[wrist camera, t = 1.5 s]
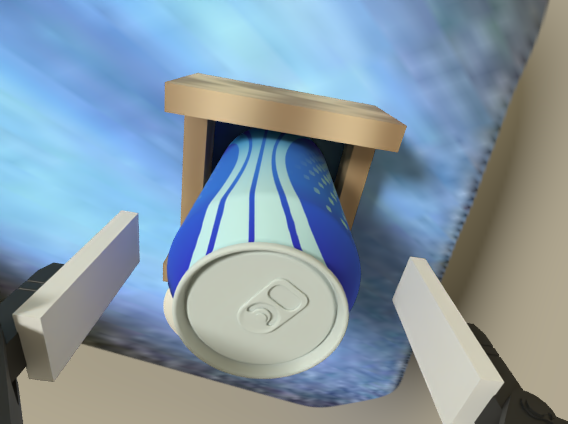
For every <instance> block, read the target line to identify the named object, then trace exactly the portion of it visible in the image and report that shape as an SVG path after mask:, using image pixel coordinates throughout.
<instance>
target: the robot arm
mask: <svg viewBox="0 0 568 424" xmlns="http://www.w3.org/2000/svg"><path fill="white" fill-rule="evenodd" d="M139 262H140V259H139V224H138V213H134V212H128V211H120V212H119V213H118V214H117V215H116V216H115V217H114V218H113V219H112V220H111V221H110V222H109V223H108V224H107V225H106V226H105V227H104V228H103V229H101V230H100V231H99V232H98V233H97V234H96V235H95V236H94V237H93V238H92V239H91V240H90V241H89V242H88V243H87V244H86V245H85V246H84V247H83V248H81V249H80V250H79V251H78V252H77V253H76V254H75V255H74V256H73V257H72V258H71V259H70V260H69V261H68V262H67V263H66V264H59V263H52V264H50V265H48V266H46V267H44V268H42V269H40V270H38V271H37V272H36V273H35V274H34V275H32V276H31V277H30V278H29V279H28V281H27V282H26V281H25V282H24V283H23V284H22V285H21V286H20V287H19V289H16V290H15V291H14V292H13V293H12V294H11V295H9V296H8V297H7V298H6V299H5V300H4V301H3V302H1V303H0V424H23V420H22V411H21V404H20V395H19V388H18V382H17V376H18V375H19V374H20V373H21V372H22V371H23V369H24V368H25V367H26V369H27V373H28V377H29V379H35V380H43V381H51V382H54V381H55V379H56V378H57V377H58V375H59V373H60V372H61V371H62V370H63V368H64V367H65V365H66V364H67V363H68V361H69V360H70V358H71V357H72V356H73V354H74V353H75V351H76V350H77V349H78V347H79V346H80V344H81V343H82V342H83V340H84V339H85V337H86V336H87V335H88V333H89V332H90V330H91V329H92V328H93V326H94V325H95V323H96V322H97V321H98V319H99V318H100V316H101V315H102V314H103V312H104V311H105V309H106V308H107V307H108V305H109V304H110V302H111V301H112V299H113V298H114V297H115V295H116V294H117V292H118V291H119V290H120V288H121V287H122V285H123V284H124V283H125V281H126V280H127V278H128V277H129V276H130V274H131V273H132V271H133V270H134V269H135V267H136V266H137V264H138V263H139ZM392 300H393V303H394V305H395V308H396V310H397V313H398V315H399V318H400V320H401V322H402V325H403V327H404V330H405V332H406V335H407V337H408V340H409V342H410V345H411V347H412V350H413V352H414V354H415V357H416V359H417V362H418V364H419V367H420V369H421V372H422V374H423V377H424V379H425V381H426V384H427V387H428V389H429V391H430V394H431V396H432V399H433V401H434V404H435V406H436V408H437V411H438V414H439V416H440V419H441V421H442V423H443V424H568V421H566V420H563V419H560V418H558V417H556V416H555V414H554V412H553V411H552V409H551V408H549V406H548V405H547V404H546V403H545V402H543V401H542V400H541V399H539V398H538V397H537V396H535V395H533V394H531V393H529V392H527V391H523V389H522V388H521V387H520V385H519V383H518V382H517V381H516V379H515V378H514V376H513V375H512V373H511V372H510V371H509V369H508V367H507V366H506V364H505V363H504V361H503V360H502V359H501V357H499V354H498V353H497V351H496V350H495V348H493V345H492V344H491V342H490V341H489V340H488V338H487V337H486V335H485V334H484V333H483V332H482V331H480V329H478V328H477V327H476V326H475V325H474V324H469V323H466V322H465V320H464V319H463V317H462V316H461V314H460V312H459V311H458V309H457V308H456V306H455V305H454V303H453V302H452V300H451V298H450V297H449V295H448V294H447V293H446V291H445V289H444V287H443V286H442V284H441V283H440V281H439V280H438V278H437V277H436V275H435V273H434V272H433V270H432V269H431V267H430V266H429V264H428V263H427V261H426V259H423V258H416V257H410V258H409V260H408V263H407V265H406V268H405V270H404V272H403V275H402V277H401V280H400V282H399V284H398V287H397V289H396V292H395V294H394V296H393V299H392Z"/></svg>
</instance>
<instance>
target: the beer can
mask: <svg viewBox="0 0 568 424" xmlns="http://www.w3.org/2000/svg"><path fill="white" fill-rule="evenodd" d="M167 279H168V285H169V289H170V293H171V295H172V298H173V303H172V315H173V321H174V325H175V328H176V331H177V333H178V335H179V337H180V338H181V340H182V341H183V343H184V344H185V345H186V347H187V348H188V349H189V350H190V351H191V352H192V353H193V354H194V355H195V356H197V357H198V358H199V359H201V360H202V361H204V362H205V363H207V364H208V365H210V366H212V367H214V368H216V369H218V370H221V371H223V372H226V373H229V374H232V375H236V376H241V377H247V378H255V379H271V378H280V377H286V376H290V375H294V374H297V373H301V372H303V371H306V370H308V369H310V368H312V367H314V366H316V365H317V364H319V363H320V362H322V361H323V360H325V359H326V358H327V357H328V356H329V355H330V354H331V353H332V352H333V351H334V350H335V349H336V348H337V346H338V345H339V344H340V342H341V340H342V339H343V337H344V334H345V332H346V329H347V325H348V320H349V312H350V310H351V309H352V307H353V305H354V303H355V300H356V298H357V295H358V291H359V287H360V280H361V267H360V260H359V255H358V252H357V249H356V246H355V243H354V240H353V237H352V234H351V232H350V229H349V226H348V223H347V220H346V218H345V215H344V212H343V209H342V206H341V203H340V201H339V198H338V195H337V192H336V189H335V187H334V184H333V181H332V178H331V175H330V173H329V170H328V167H327V164H326V161H325V159H324V156H323V154H322V153H321V151H320V149H319V148H318V146H317V145H316V144H315V143H314V142H313V141H312V140H311V139H310V138H309V137H306V136H301V135H295V134H289V133H283V132H278V131H272V130H266V129H261V128H252V129H250V130H247V131H245V132H244V133H242V134H241V135H239V136H238V137H237V138H236V139H234V140H233V141H232V143H231V144H230V145H229V146H228V148H227V149H226V151H225V152H224V154H223V156H222V157H221V159H220V161H219V163H218V164H217V166H216V168H215V169H214V171H213V173H212V174H211V176H210V178H209V180H208V181H207V183H206V185H205V186H204V188H203V190H202V191H201V193H200V195H199V197H198V198H197V200H196V202H195V203H194V205H193V207H192V208H191V210H190V212H189V214H188V215H187V217H186V219H185V220H184V222H183V224H182V225H181V227H180V229H179V231H178V232H177V234H176V236H175V238H174V240H173V243H172V245H171V248H170V251H169V255H168V261H167Z"/></svg>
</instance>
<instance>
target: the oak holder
mask: <svg viewBox="0 0 568 424" xmlns="http://www.w3.org/2000/svg"><path fill="white" fill-rule="evenodd" d="M165 112H169V113H175V114H181V115H185V119H184V146H183V173H182V201H181V225H182V224H183V222H184V220H185V219H186V217H187V215H188V214H189V212H190V210H191V208H192V207H193V205H194V203H195V202H196V200H197V198H198V197H199V195H200V193H201V191H202V190H203V188H204V186H205V185H206V183H207V181H208V180H209V178H210V176H211V171H212V158H213V145H214V132H215V121H221V122H226V123H232V124H238V125H243V126H249V127H255V128H261V129H266V130H272V131H278V132H283V133H289V134H295V135H301V136H306V137H312V138H318V139H323V140H329V141H335V142H341V143H345V144H344V148H343V152H342V156H341V160H340V164H339V167H338V171H337V175H336V179H335V183H334V187H335V189H336V192H337V195H338V198H339V201H340V203H341V206H342V209H343V212H344V215H345V218H346V220H347V223H348V226H349V229H350V231H351V228H352V225H353V221H354V218H355V215H356V211H357V208H358V205H359V202H360V198H361V195H362V192H363V188H364V185H365V182H366V179H367V175H368V172H369V169H370V165H371V162H372V159H373V156H374V152H375V149H381V150H386V151H392V152H398V151H399V148H400V145H401V142H402V139H403V136H404V133H405V130H406V127H407V126H406V125H404V124H403V123H401V122H400V121H398V120H397V119H395V118H393V117H392V116H390V115H389V114H387V113H386V112H384V111H383V110H381V109H379V108H378V107H376V106H373V105H368V104H363V103H357V102H352V101H346V100H341V99H336V98H330V97H325V96H319V95H314V94H308V93H303V92H298V91H292V90H287V89H281V88H276V87H271V86H265V85H260V84H254V83H249V82H244V81H238V80H233V79H227V78H222V77H217V76H211V75H206V74H200V73H196V74H192V75H189V76H185V77H181V78H178V79H174V80H171V81H167V82H165ZM168 255H169V254H168ZM167 261H168V256H167V258H166V259H165V261H164V263H163V281H166V282H168V279H167Z"/></svg>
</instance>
